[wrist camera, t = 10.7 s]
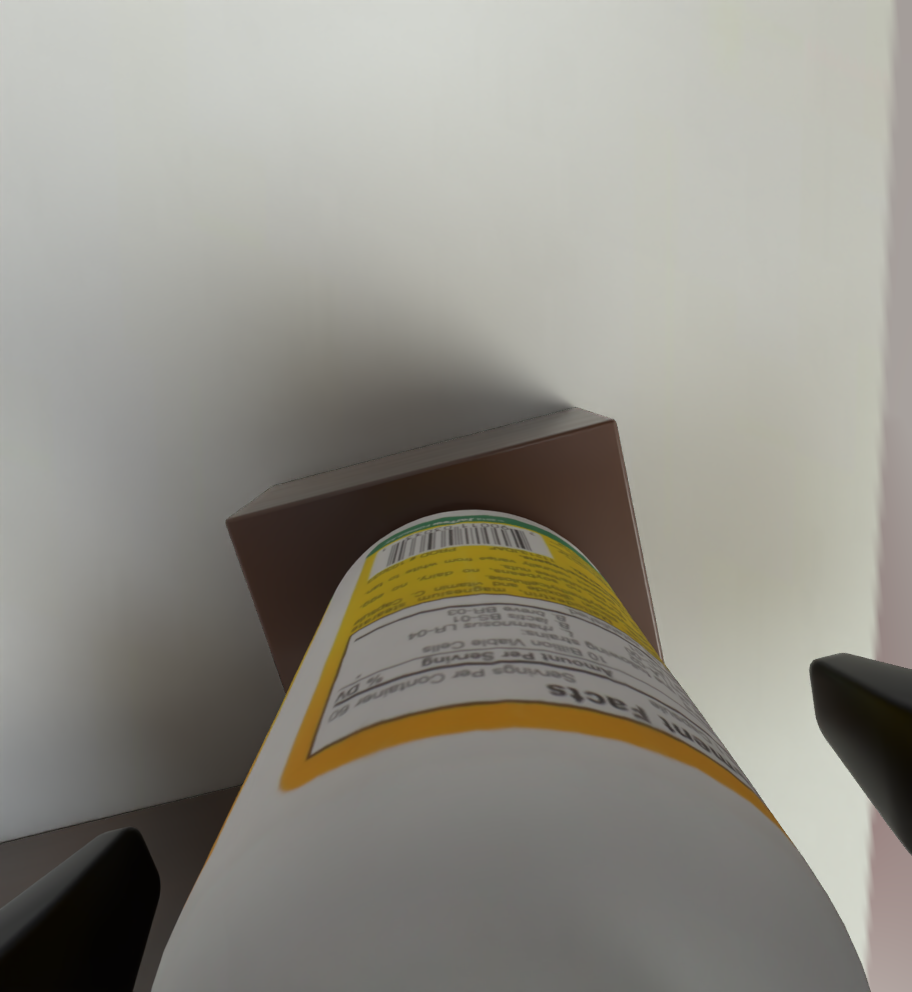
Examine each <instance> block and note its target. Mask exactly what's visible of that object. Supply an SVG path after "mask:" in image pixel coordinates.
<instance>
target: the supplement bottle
mask: <svg viewBox="0 0 912 992" xmlns="http://www.w3.org/2000/svg"><path fill="white" fill-rule="evenodd" d="M151 992H871V991H870V988H869V985H868V981H867V978H866V975H865V972H864V969H863V966H862V963H861V961H860V959H859V957H858V954H857V952H856V950H855V947H854V945H853V943H852V941H851V939H850V936H849V934H848V932H847V930H846V927H845V925H844V923H843V922H842V920H841V918H840V916H839V914H838V913H837V911H836V909H835V907H834V905H833V904H832V902H831V900H830V898H829V896H828V895H827V893H826V892H825V890H824V888H823V887H822V885H821V884H820V882H819V881H818V879H817V878H816V876H815V875H814V873H813V872H812V870H811V868H810V867H809V865H808V864H807V862H806V861H805V859H804V858H803V856H802V855H801V854H800V852H799V851H798V849H797V848H796V847H795V845H794V844H793V842H792V841H791V840H790V838H789V837H788V835H787V834H786V833H785V831H784V830H783V828H782V827H781V826H780V824H779V823H778V821H777V820H776V819H775V817H774V816H773V814H772V813H771V812H770V810H769V809H768V807H767V806H766V804H765V803H764V802H763V800H762V799H761V797H760V796H759V794H758V793H757V791H756V790H755V788H754V787H753V785H752V784H751V783H750V781H749V780H748V778H747V777H746V776H745V774H744V773H743V771H742V770H741V769H740V767H739V766H738V764H737V763H736V761H735V760H734V759H733V757H732V756H731V754H730V753H729V752H728V750H727V749H726V748H725V746H724V745H723V743H722V742H721V741H720V739H719V738H718V737H717V735H716V734H715V732H714V731H713V730H712V728H711V727H710V725H709V724H708V722H707V721H706V720H705V718H704V717H703V715H702V714H701V713H700V711H699V710H698V709H697V707H696V706H695V705H694V703H693V702H692V700H691V699H690V698H689V696H688V695H687V694H686V692H685V691H684V689H683V688H682V687H681V685H680V684H679V683H678V681H677V680H676V679H675V677H674V676H673V675H672V674H671V672H670V671H669V670H668V668H667V667H666V665H665V664H664V663H663V661H662V660H661V659H660V657H659V656H658V654H657V653H656V651H655V650H654V648H653V647H652V646H651V644H650V643H649V642H648V640H647V639H646V637H645V636H644V634H643V633H642V632H641V630H640V629H639V627H638V626H637V624H636V623H635V622H634V620H633V619H632V618H631V616H630V615H629V613H628V612H627V610H626V609H625V607H624V606H623V604H622V603H621V601H620V600H619V599H618V597H617V596H616V594H615V593H614V591H613V590H612V588H611V587H610V585H609V584H608V582H607V581H606V580H605V578H604V577H603V576H602V575H601V574H600V573H599V571H598V570H597V569H596V568H595V566H594V565H593V564H592V563H591V562H590V561H589V559H588V558H587V557H586V556H585V555H584V554H583V553H582V552H581V551H580V550H579V549H578V548H576V547H575V546H574V545H573V544H571V543H570V542H569V541H568V540H566V539H565V538H563V537H561V536H560V535H558V534H557V533H555V532H554V531H552V530H550V529H549V528H547V527H544V526H542V525H540V524H538V523H536V522H533V521H531V520H528V519H526V518H522V517H519V516H516V515H512V514H508V513H503V512H496V511H487V510H459V511H449V512H443V513H438V514H434V515H430V516H426V517H423V518H420V519H418V520H415V521H412V522H410V523H408V524H405V525H404V526H402V527H400V528H398V529H396V530H394V531H392V532H391V533H389V534H388V535H386V536H385V537H383V538H382V539H380V540H379V541H378V542H376V543H375V544H374V545H372V546H371V547H370V548H369V549H368V550H367V551H366V552H365V553H364V554H363V555H362V556H361V557H360V558H359V559H358V560H357V561H356V562H355V563H354V564H353V565H352V567H351V568H350V569H349V570H348V572H347V573H346V574H345V576H344V578H343V579H342V581H341V582H340V584H339V586H338V587H337V589H336V591H335V593H334V595H333V597H332V598H331V600H330V602H329V604H328V607H327V609H326V611H325V613H324V615H323V618H322V620H321V622H320V624H319V626H318V628H317V630H316V633H315V635H314V637H313V639H312V641H311V643H310V645H309V647H308V649H307V651H306V653H305V655H304V657H303V660H302V662H301V664H300V666H299V668H298V670H297V672H296V674H295V676H294V678H293V681H292V683H291V685H290V687H289V689H288V691H287V694H286V696H285V698H284V700H283V702H282V704H281V707H280V709H279V711H278V713H277V715H276V717H275V719H274V721H273V723H272V725H271V727H270V729H269V731H268V733H267V735H266V738H265V740H264V742H263V744H262V746H261V748H260V750H259V752H258V754H257V756H256V758H255V760H254V762H253V764H252V766H251V768H250V770H249V773H248V775H247V777H246V779H245V781H244V783H243V785H242V787H241V789H240V791H239V793H238V795H237V797H236V799H235V801H234V803H233V805H232V807H231V810H230V812H229V814H228V816H227V818H226V820H225V822H224V824H223V826H222V828H221V830H220V833H219V835H218V837H217V839H216V841H215V843H214V845H213V847H212V849H211V851H210V854H209V856H208V858H207V860H206V862H205V864H204V866H203V868H202V870H201V872H200V874H199V876H198V878H197V880H196V882H195V885H194V887H193V889H192V891H191V893H190V895H189V897H188V899H187V901H186V903H185V905H184V907H183V910H182V912H181V914H180V916H179V918H178V921H177V923H176V925H175V927H174V930H173V932H172V934H171V936H170V939H169V941H168V943H167V945H166V947H165V950H164V952H163V955H162V958H161V962H160V965H159V968H158V971H157V974H156V977H155V980H154V983H153V986H152V990H151Z"/></svg>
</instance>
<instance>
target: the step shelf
mask: <svg viewBox="0 0 912 992" xmlns="http://www.w3.org/2000/svg"><path fill="white" fill-rule="evenodd" d="M459 510H487V511H496V512H503V513H508V514H512V515H516V516H519V517H522V518H526V519H528V520H531V521H533V522H536V523H538V524H540V525H542V526H544V527H547V528H549V529H550V530H552V531H554V532H555V533H557V534H558V535H560V536H561V537H563V538H565V539H566V540H568V541H569V542H570V543H571V544H573V545H574V546H575V547H576V548H578V549H579V550H580V551H581V552H582V553H583V554H584V555H585V556H586V557H587V558H588V559H589V561H590V562H591V563H592V564H593V565H594V566H595V568H596V569H597V570H598V571H599V573H600V574H601V575H602V576H603V577H604V578H605V580H606V581H607V582H608V584H609V585H610V587H611V588H612V590H613V591H614V593H615V594H616V596H617V597H618V599H619V600H620V601H621V603H622V604H623V606H624V607H625V609H626V610H627V612H628V613H629V615H630V616H631V618H632V619H633V620H634V622H635V623H636V624H637V626H638V627H639V629H640V630H641V632H642V633H643V634H644V636H645V637H646V639H647V640H648V642H649V643H650V644H651V646H652V647H653V648H654V650H655V651H656V653H657V654H658V656H659V657H660V659H661V660H662V661H663V663H664V659H663V654H662V649H661V644H660V639H659V634H658V628H657V623H656V618H655V613H654V608H653V603H652V598H651V593H650V588H649V583H648V578H647V573H646V568H645V563H644V558H643V553H642V548H641V543H640V538H639V533H638V528H637V523H636V518H635V513H634V508H633V503H632V498H631V493H630V488H629V483H628V478H627V473H626V468H625V463H624V458H623V453H622V447H621V442H620V437H619V432H618V427H617V423H616V421H615V420H614V419H611V418H608V417H605V416H602V415H599V414H596V413H593V412H590V411H586V410H583V409H580V408H576V407H575V408H571V409H567V410H563V411H559V412H555V413H552V414H548V415H544V416H540V417H536V418H532V419H528V420H525V421H521V422H517V423H513V424H509V425H505V426H502V427H498V428H494V429H490V430H486V431H482V432H478V433H475V434H471V435H467V436H463V437H459V438H455V439H451V440H448V441H444V442H440V443H436V444H432V445H428V446H425V447H421V448H417V449H413V450H409V451H405V452H401V453H398V454H394V455H390V456H386V457H382V458H378V459H374V460H371V461H367V462H363V463H359V464H355V465H351V466H348V467H344V468H340V469H336V470H332V471H328V472H324V473H321V474H317V475H313V476H309V477H305V478H301V479H297V480H294V481H290V482H286V483H282V484H278V485H274V486H272V487H271V488H269V489H268V490H267V491H265V492H264V493H262V494H261V495H260V496H258V497H257V498H256V499H254V500H253V501H251V502H250V503H249V504H247V505H246V506H244V507H243V508H242V509H240V510H239V511H237V512H236V513H235V514H233V515H232V516H231V517H229V518H228V519H227V520H226V526H227V529H228V532H229V535H230V538H231V540H232V543H233V546H234V549H235V552H236V555H237V557H238V560H239V563H240V566H241V569H242V572H243V574H244V577H245V580H246V583H247V586H248V589H249V591H250V594H251V597H252V600H253V603H254V606H255V608H256V611H257V614H258V617H259V620H260V622H261V625H262V628H263V631H264V634H265V637H266V639H267V642H268V645H269V648H270V651H271V654H272V656H273V659H274V662H275V665H276V668H277V671H278V673H279V676H280V679H281V682H282V685H283V687H284V690H285V693H286V694H287V691H288V689H289V687H290V685H291V683H292V681H293V678H294V676H295V674H296V672H297V670H298V668H299V666H300V664H301V662H302V660H303V657H304V655H305V653H306V651H307V649H308V647H309V645H310V643H311V641H312V639H313V637H314V635H315V633H316V630H317V628H318V626H319V624H320V622H321V620H322V618H323V615H324V613H325V611H326V609H327V607H328V604H329V602H330V600H331V598H332V597H333V595H334V593H335V591H336V589H337V587H338V586H339V584H340V582H341V581H342V579H343V578H344V576H345V574H346V573H347V572H348V570H349V569H350V568H351V567H352V565H353V564H354V563H355V562H356V561H357V560H358V559H359V558H360V557H361V556H362V555H363V554H364V553H365V552H366V551H367V550H368V549H369V548H370V547H371V546H372V545H374V544H375V543H376V542H378V541H379V540H380V539H382V538H383V537H385V536H386V535H388V534H389V533H391V532H392V531H394V530H396V529H398V528H400V527H402V526H404V525H405V524H408V523H410V522H412V521H415V520H418V519H420V518H423V517H426V516H430V515H434V514H438V513H443V512H449V511H459ZM241 787H242V785H240V786H236V787H232V788H228V789H224V790H220V791H216V792H212V793H208V794H203V795H199V796H195V797H191V798H187V799H183V800H179V801H175V802H171V803H166V804H162V805H158V806H154V807H150V808H146V809H142V810H138V811H134V812H129V813H125V814H121V815H117V816H113V817H109V818H105V819H101V820H97V821H92V822H88V823H84V824H80V825H76V826H72V827H68V828H64V829H59V830H55V831H51V832H47V833H43V834H39V835H35V836H31V837H27V838H22V839H18V840H14V841H10V842H6V843H2V844H0V909H1V908H2V907H4V906H5V905H6V904H8V903H9V902H10V901H12V900H13V899H14V898H16V897H17V896H18V895H20V894H21V893H22V892H24V891H25V890H26V889H28V888H29V887H30V886H32V885H33V884H34V883H36V882H37V881H38V880H40V879H41V878H42V877H44V876H45V875H46V874H48V873H49V872H50V871H52V870H53V869H54V868H56V867H57V866H58V865H60V864H61V863H62V862H64V861H65V860H66V859H68V858H69V857H70V856H72V855H73V854H74V853H76V852H77V851H78V850H80V849H81V848H82V847H84V846H85V845H86V844H88V843H89V842H90V841H92V840H93V839H94V838H96V837H97V836H99V835H100V834H102V833H105V832H108V831H112V830H116V829H120V828H125V827H129V826H131V827H135V828H137V829H138V830H139V831H140V832H141V834H142V836H143V838H144V840H145V843H146V845H147V847H148V850H149V852H150V854H151V857H152V859H153V861H154V863H155V866H156V868H157V870H158V873H159V876H160V881H161V891H160V897H159V901H158V905H157V908H156V912H155V915H154V919H153V922H152V926H151V929H150V933H149V936H148V940H147V943H146V947H145V950H144V954H143V957H142V961H141V964H140V968H139V971H138V975H137V978H136V982H135V986H134V989H133V992H151V990H152V986H153V983H154V980H155V977H156V974H157V971H158V968H159V965H160V962H161V958H162V955H163V952H164V950H165V947H166V945H167V943H168V941H169V939H170V936H171V934H172V932H173V930H174V927H175V925H176V923H177V921H178V918H179V916H180V914H181V912H182V910H183V907H184V905H185V903H186V901H187V899H188V897H189V895H190V893H191V891H192V889H193V887H194V885H195V882H196V880H197V878H198V876H199V874H200V872H201V870H202V868H203V866H204V864H205V862H206V860H207V858H208V856H209V854H210V851H211V849H212V847H213V845H214V843H215V841H216V839H217V837H218V835H219V833H220V830H221V828H222V826H223V824H224V822H225V820H226V818H227V816H228V814H229V812H230V810H231V807H232V805H233V803H234V801H235V799H236V797H237V795H238V793H239V791H240V789H241Z"/></svg>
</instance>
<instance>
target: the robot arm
mask: <svg viewBox="0 0 912 992" xmlns="http://www.w3.org/2000/svg"><path fill="white" fill-rule="evenodd" d="M809 672H810V680H811V687H812V694H813V701H814V708H815V715H816V720H817V723H818V726H819V728H820V730H821V732H822V734H823V736H824V737H825V739H826V740H827V741H828V743H829V744H830V746H831V747H832V748H833V750H834V751H835V752H836V754H837V755H838V757H839V758H840V759H841V761H842V762H843V764H844V765H845V766H846V768H847V769H848V770H849V772H850V773H851V775H852V776H853V777H854V779H855V780H856V781H857V783H858V784H859V786H860V787H861V788H862V790H863V791H864V793H865V794H866V795H867V797H868V798H869V799H870V801H871V802H872V804H873V805H874V806H875V808H876V809H877V810H878V812H879V813H880V815H881V816H882V817H883V819H884V820H885V822H886V823H887V824H888V826H889V827H890V828H891V830H892V831H893V832H894V834H895V835H896V836H897V838H898V839H899V840H900V842H901V843H902V844H903V846H904V847H905V848H906V849H907V851H908V852H909V853H910V854H911V855H912V669H908V668H904V667H899V666H895V665H892V664H888V663H884V662H879V661H876V660H872V659H868V658H864V657H860V656H856V655H852V654H847V653H839V654H835V655H830V656H826V657H822V658H818V659H815V660H813V662H812V663H811V664H810V669H809ZM160 891H161V881H160V876H159V873H158V870H157V868H156V866H155V863H154V861H153V859H152V857H151V854H150V852H149V850H148V847H147V845H146V843H145V840H144V838H143V836H142V834H141V832H140V831H139V830H138V829H137V828H135V827H131V826H129V827H125V828H120V829H116V830H112V831H108V832H105V833H102V834H100V835H99V836H97V837H96V838H94V839H93V840H92V841H90V842H89V843H88V844H86V845H85V846H84V847H82V848H81V849H80V850H78V851H77V852H76V853H74V854H73V855H72V856H70V857H69V858H68V859H66V860H65V861H64V862H62V863H61V864H60V865H58V866H57V867H56V868H54V869H53V870H52V871H50V872H49V873H48V874H46V875H45V876H44V877H42V878H41V879H40V880H38V881H37V882H36V883H34V884H33V885H32V886H30V887H29V888H28V889H26V890H25V891H24V892H22V893H21V894H20V895H18V896H17V897H16V898H14V899H13V900H12V901H10V902H9V903H8V904H6V905H5V906H4V907H2V908H1V909H0V992H133V989H134V986H135V982H136V978H137V975H138V971H139V968H140V964H141V961H142V957H143V954H144V950H145V947H146V943H147V940H148V936H149V933H150V929H151V926H152V922H153V919H154V915H155V912H156V908H157V905H158V901H159V897H160Z"/></svg>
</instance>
